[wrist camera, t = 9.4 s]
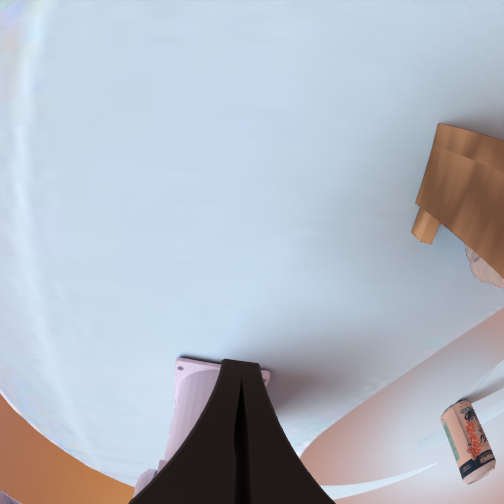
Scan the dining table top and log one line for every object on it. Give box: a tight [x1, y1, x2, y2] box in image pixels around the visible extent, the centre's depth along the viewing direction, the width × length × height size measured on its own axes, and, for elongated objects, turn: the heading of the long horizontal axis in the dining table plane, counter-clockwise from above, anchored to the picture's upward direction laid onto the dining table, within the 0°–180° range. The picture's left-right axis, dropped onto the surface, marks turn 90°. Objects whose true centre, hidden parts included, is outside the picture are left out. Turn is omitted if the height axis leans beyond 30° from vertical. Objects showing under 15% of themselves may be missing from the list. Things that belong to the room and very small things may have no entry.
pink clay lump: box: [465, 244, 504, 288], centre depth 15 cm, size 6×7×7 cm
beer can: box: [441, 400, 496, 484], centre depth 25 cm, size 5×5×12 cm
